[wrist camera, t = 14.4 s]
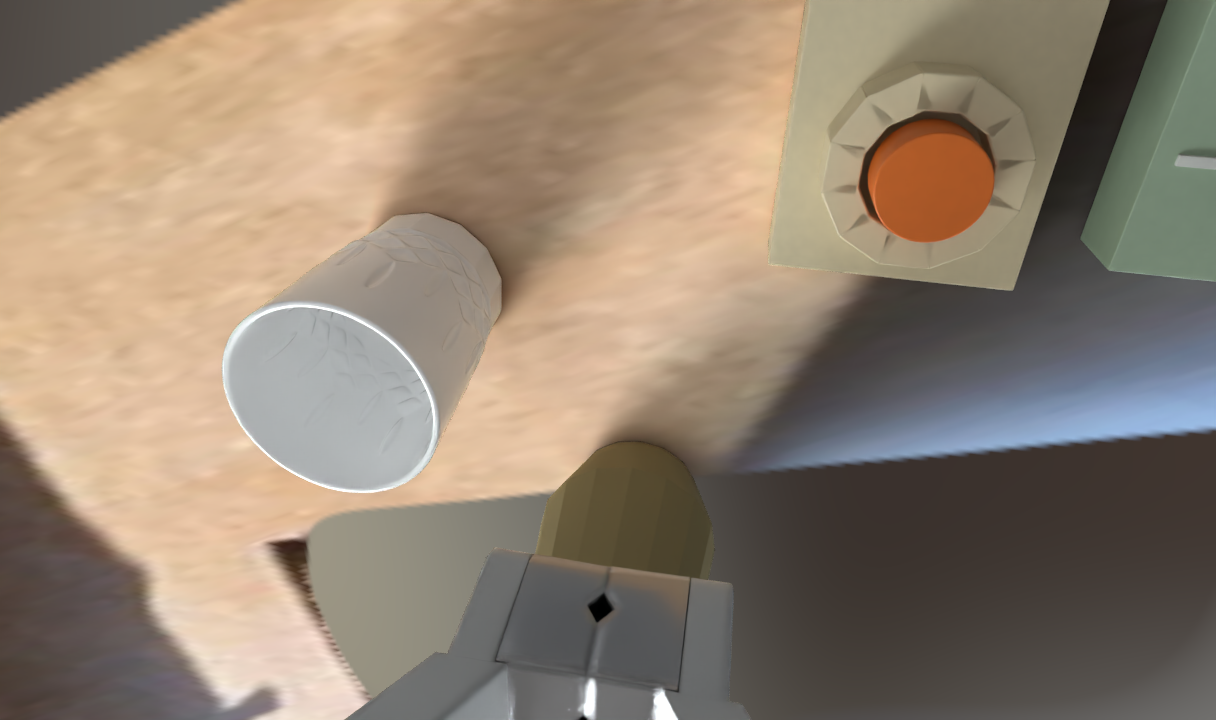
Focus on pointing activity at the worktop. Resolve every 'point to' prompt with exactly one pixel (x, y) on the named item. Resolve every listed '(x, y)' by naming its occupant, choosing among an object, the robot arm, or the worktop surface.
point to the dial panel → (1165, 158)
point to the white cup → (366, 354)
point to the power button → (930, 180)
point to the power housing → (915, 90)
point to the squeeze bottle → (630, 514)
